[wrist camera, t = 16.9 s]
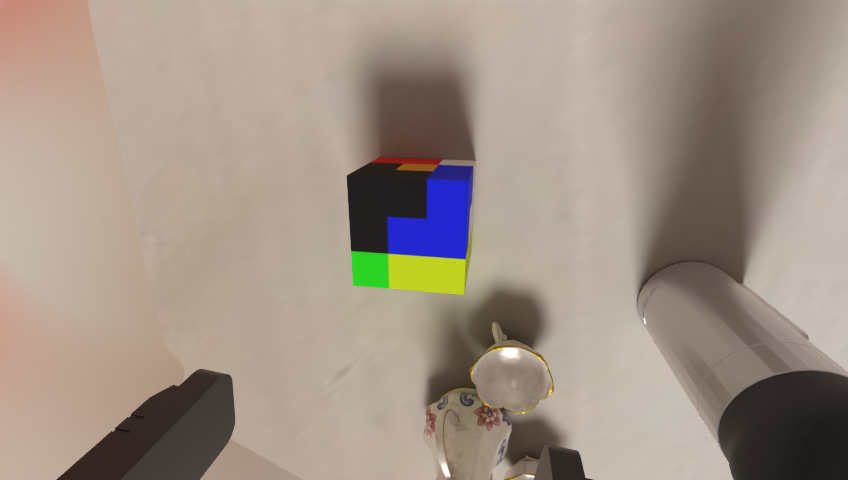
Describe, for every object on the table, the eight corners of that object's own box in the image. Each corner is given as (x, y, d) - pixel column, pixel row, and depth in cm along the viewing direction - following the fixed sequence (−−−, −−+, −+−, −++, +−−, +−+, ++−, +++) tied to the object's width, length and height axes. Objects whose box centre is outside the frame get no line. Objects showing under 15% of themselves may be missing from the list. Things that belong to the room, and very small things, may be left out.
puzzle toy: (475, 160, 41) (468, 180, 32) (471, 252, 45) (463, 294, 36) (379, 157, 43) (346, 175, 34) (382, 246, 46) (353, 285, 37)
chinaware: (575, 480, 55) (623, 630, 39) (455, 500, 58) (455, 648, 42) (527, 297, 47) (564, 394, 32) (391, 330, 50) (362, 434, 34)
